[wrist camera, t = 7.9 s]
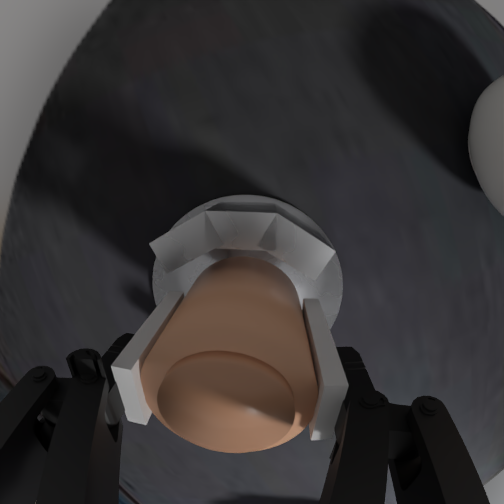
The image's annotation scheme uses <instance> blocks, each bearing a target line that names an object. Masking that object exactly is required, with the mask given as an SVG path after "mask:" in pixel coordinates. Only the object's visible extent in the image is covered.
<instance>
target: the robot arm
mask: <svg viewBox="0 0 504 504" xmlns="http://www.w3.org/2000/svg"><path fill="white" fill-rule="evenodd" d="M183 299H184V292H179V291H169V292H168V293H167V295H166V296H165V297H164V298H163V300H162V301H161V302H160V303H159V305H158V306H157V307H156V308H155V310H154V311H153V312H152V313H151V315H150V316H149V317H148V318H147V320H146V321H145V322H144V323H143V325H142V326H141V327H140V329H139V330H138V331H137V332H136V334H130V333H126V334H124V335H122V336H121V337H119V338H117V340H116V341H115V342H114V343H113V344H112V346H111V347H110V348H109V349H108V351H107V352H106V353H105V354H104V355H103V356H102V358H101V356H100V354H99V353H98V352H97V351H95V350H93V349H79V350H76V351H74V352H72V353H70V354H69V355H68V356H67V358H66V360H67V363H68V366H69V369H70V371H71V374H72V378H57V377H56V375H55V372H54V371H53V369H52V368H50V367H48V366H38V367H35V368H33V369H31V370H30V371H28V372H27V373H26V374H25V376H24V377H23V378H22V379H21V380H20V381H19V382H18V383H17V384H16V386H15V387H14V388H13V389H12V390H11V391H10V392H9V393H8V395H7V396H6V397H5V398H4V399H3V400H2V402H1V403H0V504H35V502H36V504H118V497H119V470H120V454H121V442H122V431H123V425H122V421H121V417H122V415H123V413H124V411H125V414H126V416H127V419H128V421H131V422H135V423H139V424H144V425H146V424H147V422H148V420H149V418H150V416H151V413H152V411H151V410H150V408H149V407H148V405H147V403H146V400H145V396H144V392H143V388H142V384H141V380H140V377H141V370H142V366H143V363H144V361H145V359H146V357H147V356H148V354H149V352H150V351H151V349H152V348H153V346H154V344H155V343H156V341H157V340H158V338H159V336H160V335H161V333H162V332H163V330H164V329H165V327H166V325H167V324H168V322H169V321H170V319H171V318H172V316H173V314H174V313H175V311H176V310H177V308H178V307H179V305H180V304H181V302H182V300H183ZM302 313H303V318H304V322H305V327H306V332H307V337H308V341H309V346H310V351H311V356H312V361H313V366H314V371H315V376H316V381H317V386H318V399H317V403H316V407H315V411H314V415H313V418H312V420H311V421H310V422H309V430H310V438H311V440H328V439H332V437H333V434H334V431H335V434H336V439H337V440H336V442H335V445H334V448H333V450H332V453H331V455H330V459H331V461H330V465H329V469H328V473H327V477H326V480H325V484H324V488H323V491H322V495H321V498H320V502H319V504H384V502H385V493H386V483H387V470H388V465H389V469H390V473H391V477H392V482H393V486H394V491H395V496H396V501H397V504H490V503H489V500H488V498H487V495H486V492H485V490H484V487H483V485H482V482H481V480H480V478H479V475H478V473H477V471H476V468H475V466H474V464H473V461H472V459H471V457H470V455H469V453H468V451H467V448H466V446H465V444H464V442H463V440H462V438H461V436H460V434H459V432H458V430H457V428H456V426H455V424H454V422H453V420H452V418H451V416H450V414H449V412H448V411H447V409H446V407H445V405H444V404H443V403H442V401H440V400H439V399H437V398H435V397H431V396H421V397H417V398H416V399H415V400H414V401H413V402H412V405H411V406H406V405H397V404H392V403H389V402H388V399H387V398H386V397H385V395H384V394H382V393H380V392H378V391H375V389H374V386H373V384H372V382H371V379H370V377H369V375H368V372H367V370H366V369H365V366H364V363H362V362H363V361H362V359H361V357H360V354H359V353H358V352H357V351H356V350H355V349H353V348H352V347H336V346H335V343H334V341H333V338H332V335H331V332H330V329H329V326H328V324H327V321H326V318H325V315H324V312H323V310H322V307H321V304H320V302H319V299H316V298H303V306H302ZM40 412H41V414H42V416H43V418H42V419H41V420H40V421H39V420H38V419H37V417H38V415H39V414H40ZM36 500H37V501H36Z"/></svg>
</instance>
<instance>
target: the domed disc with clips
mask: <svg viewBox="0 0 504 504" xmlns="http://www.w3.org/2000/svg"><path fill="white" fill-rule="evenodd" d="M149 244H150V246H151V248H152V250H153V251H154V253H155V255H156V259H155V263H154V268H153V277H152V278H153V293H154V299H155V303H156V306H158V305H159V303H160V302H161V301H162V300H163V298H164V297H165V296H166V295H167V293H168V292H169V291H179V292H184V297H185V296H186V294H187V293H188V291H189V290H190V288H191V287H192V285H193V284H194V282H195V281H196V279H197V278H198V276H199V275H200V274H201V273H202V272H203V271H204V270H205V269H206V268H208V267H209V266H210V265H212V264H214V263H215V262H218V261H220V260H223V259H226V258H230V257H237V256H246V257H254V258H258V259H262V260H264V261H267V262H269V263H271V264H273V265H275V266H276V267H278V268H279V269H281V270H282V271H283V272H284V273H285V274H286V275H287V276H288V277H289V278H290V280H291V281H292V283H293V284H294V286H295V288H296V290H297V293H298V296H299V300H300V304H301V309H302V306H303V298H316V299H319V302H320V304H321V307H322V310H323V312H324V315H325V318H326V321H327V324H328V326H329V329H331V327H332V325H333V323H334V322H335V320H336V317H337V314H338V312H339V309H340V304H341V300H342V291H343V281H342V272H341V267H340V262H339V260H338V257H337V254H336V251H335V250H334V248H333V246H332V244H331V242H330V240H329V239H328V237H327V236H326V235H325V233H324V232H323V231H322V229H321V228H320V227H319V226H318V225H317V224H316V223H315V222H314V221H313V220H312V219H311V218H309V217H308V216H307V215H306V214H304V213H303V212H302V211H300V210H299V209H297V208H295V207H293V206H291V205H290V204H288V203H285V202H282V201H280V200H277V199H274V198H270V197H266V196H261V195H251V194H243V195H231V196H225V197H221V198H218V199H214V200H211V201H209V202H207V203H204V204H202V205H200V206H198V207H196V208H195V209H193V210H192V211H190V212H189V213H187V214H186V215H184V216H183V217H182V218H181V219H180V220H179V221H178V222H177V223H176V224H175V225H174V226H173V227H172V228H171V230H170V231H169V232H167V233H165V234H164V235H162V236H161V237H159V238H157V239H156V240H154V241H152V242H151V243H149Z"/></svg>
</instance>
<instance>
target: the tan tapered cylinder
mask: <svg viewBox="0 0 504 504" xmlns="http://www.w3.org/2000/svg"><path fill="white" fill-rule="evenodd" d="M140 380H141V384H142V388H143V392H144V396H145V400H146V403H147V405H148V407H149V408H150V410H151V411H152V412H153V414H154V415H155V416H156V417H157V418H158V420H159V421H160V422H161V423H163V424H164V425H165V426H166V427H167V428H168V429H170V430H171V431H172V432H174V433H175V434H177V435H179V436H180V437H182V438H184V439H186V440H188V441H189V442H191V443H193V444H196V445H198V446H201V447H203V448H207V449H210V450H214V451H219V452H227V453H244V452H252V451H260V450H264V449H269V448H272V447H275V446H278V445H280V444H282V443H285V442H287V441H288V440H290V439H292V438H293V437H295V436H296V435H298V434H299V433H300V432H301V431H302V430H303V429H304V428H305V427H306V426H307V425H308V424H309V422H310V421H311V420H312V418H313V415H314V411H315V407H316V403H317V399H318V386H317V381H316V376H315V371H314V366H313V361H312V356H311V351H310V346H309V341H308V337H307V332H306V327H305V322H304V318H303V313H302V309H301V304H300V300H299V296H298V293H297V290H296V288H295V286H294V284H293V283H292V281H291V280H290V278H289V277H288V276H287V275H286V274H285V273H284V272H283V271H282V270H281V269H279V268H278V267H276V266H275V265H273V264H271V263H269V262H267V261H264V260H262V259H258V258H254V257H246V256H237V257H230V258H226V259H223V260H220V261H218V262H215V263H214V264H212V265H210V266H209V267H208V268H206V269H205V270H204V271H203V272H202V273H201V274H200V275H199V276H198V278H197V279H196V281H195V282H194V284H193V285H192V287H191V288H190V290H189V291H188V293H187V294H186V296H185V297H184V299H183V300H182V302H181V304H180V305H179V307H178V308H177V310H176V311H175V313H174V314H173V316H172V318H171V319H170V321H169V322H168V324H167V325H166V327H165V329H164V330H163V332H162V333H161V335H160V336H159V338H158V340H157V341H156V343H155V344H154V346H153V348H152V349H151V351H150V352H149V354H148V356H147V357H146V359H145V361H144V363H143V366H142V370H141V377H140Z"/></svg>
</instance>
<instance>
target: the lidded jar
mask: <svg viewBox="0 0 504 504" xmlns="http://www.w3.org/2000/svg"><path fill="white" fill-rule="evenodd" d="M468 151H469V157H470V161H471V164H472V167H473V170H474V172H475V174H476V177H477V179H478V181H479V184H480V186H481V188H482V190H483V191H484V193H485V195H486V196H487V198H488V199H489V201H490V202H491V203H492V205H493V206H494V207H495V208H496V209H497V210H498V211H499V212H500V213H501V214H502V215H503V216H504V75H503V76H501V77H499V78H498V79H496V80H495V81H494V82H493V83H491V84H490V85H489V86H488V87H487V88H486V89H485V90H484V91H483V93H482V94H481V95H480V97H479V98H478V100H477V102H476V104H475V107H474V109H473V112H472V116H471V119H470V127H469V134H468Z"/></svg>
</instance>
